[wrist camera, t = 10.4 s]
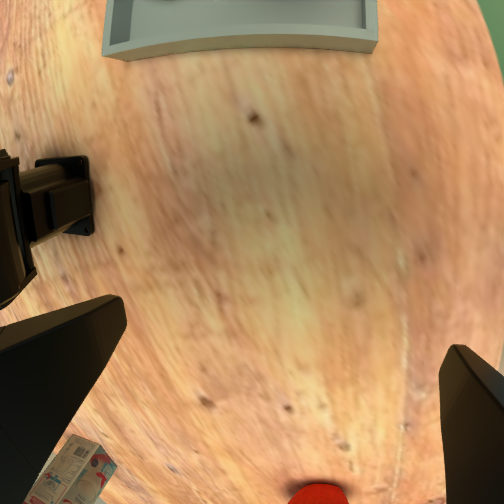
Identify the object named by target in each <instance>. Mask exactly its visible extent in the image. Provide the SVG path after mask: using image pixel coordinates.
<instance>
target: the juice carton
mask: <svg viewBox="0 0 504 504" xmlns="http://www.w3.org/2000/svg"><path fill="white" fill-rule="evenodd" d="M116 468H117V466H116V464H115V463H114V462H113V461H112V459H111V458H110V457H109V456H108V454H107V453H106V452H105V450H104V449H103V448H102V446H101V445H100V444H97V443H95V442H92V441H89V440H87V439H84V438H82V437H79V436H77V435H74V434H73V435H72V436H71V437H70V439H69V440H68V441H67V442H66V444H65V445H64V446H63V447H62V449H61V450H60V451H59V453H58V454H57V455H56V457H55V458H54V459H53V460H52V462H51V463H50V465H49V466H48V467H47V468H46V470H45V471H44V472H43V474H42V475H41V476H40V477H39V479H38V480H37V481H36V483H35V484H34V485H33V487H32V488H31V490H30V492H29V493H28V495H27V497H26V499H25V501H24V502H23V504H94V503H95V501H96V500H97V498H98V497H99V495H100V493H101V492H102V490H103V489H104V487H105V486H106V484H107V482H108V481H109V479H110V478H111V476H112V475H113V473H114V471H115V470H116Z"/></svg>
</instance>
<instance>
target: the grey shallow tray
mask: <svg viewBox="0 0 504 504" xmlns="http://www.w3.org/2000/svg"><path fill="white" fill-rule="evenodd" d="M377 42H378V16H377V0H176V1H163V0H107V5H106V13H105V22H104V32H103V43H102V57H108V58H113V59H118V60H123V61H133V60H138V59H144V58H149V57H155V56H162V55H169V54H176V53H184V52H193V51H203V50H214V49H228V48H251V47H295V48H317V49H331V50H343V51H353V52H361V53H369V54H372V52H373V50H374V48H375V46H376V44H377Z"/></svg>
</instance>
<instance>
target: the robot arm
mask: <svg viewBox="0 0 504 504" xmlns="http://www.w3.org/2000/svg"><path fill="white" fill-rule="evenodd" d="M81 160H82V164H81ZM19 164H20V163H19V157H14V158H11V157H10V155H8V153H7V152H6V150H5V149H2V150H0V310H2V309H4V308H5V307H7V306H8V305H9V304H10V303H11V302H12V301H13V300H14V299H15V298H16V297H17V296H18V295H19V294H20V292H21V291H22V290H23V289H24V288H25V287H26V286H27V285H28V284H29V283H30V281H31V280H32V279H33V278H34V277H35V276H36V275H37V271H36V267H34V263H33V258H32V254H31V248H33V247H35V246H37V245H38V244H40V243H42V242H44V241H46V240H48V239H50V238H52V237H54V236H56V235H58V234H60V233H68V234H76V235H83V236H89V235H91V234H93V232H94V226H93V218H92V209H91V199H90V188H89V175H88V161H87V158H86V156H84V155H80V156H67V157H56V158H46V159H39V160H36V162H35V168H34V169H30V170H27V171H23V172H20V173H19ZM87 228H88V229H87ZM88 230H89V231H88ZM126 326H127V318H126V313H125V308H124V302H123V300H122V298H121V297H119V296H115V295H111V294H108V295H105V296H101V297H98V298H95V299H91V300H88V301H85V302H81V303H78V304H75V305H72V306H68V307H65V308H62V309H58V310H55V311H52V312H48V313H45V314H42V315H39V316H35V317H32V318H29V319H25V320H22V321H19V322H16V323H12V324H9V325H7V326H2V327H0V504H23V502H24V501H25V499H26V497H27V495H28V493H29V492H30V490H31V488H32V486H33V484H34V483H35V481H36V479H37V477H38V476H39V474H38V473H40V472H41V470H42V468H43V466H44V465H45V463H46V461H47V460H48V458H49V456H50V455H51V453H52V451H53V450H54V448H55V446H56V445H57V443H58V441H59V440H60V438H61V436H62V435H63V433H64V431H65V430H66V428H67V427H68V425H69V423H70V422H71V420H72V418H73V417H74V415H75V414H76V412H77V410H78V409H79V407H80V406H81V404H82V403H83V401H84V399H85V398H86V396H87V395H88V393H89V392H90V390H91V389H92V387H93V386H94V384H95V382H96V381H97V379H98V378H99V376H100V375H101V373H102V372H103V370H104V368H105V367H106V365H107V363H108V361H109V359H110V357H111V356H112V354H113V352H114V350H115V348H116V346H117V344H118V342H119V340H120V339H121V337H122V335H123V333H124V331H125V329H126ZM439 392H440V420H441V433H442V442H443V452H444V463H445V478H446V503H447V504H504V376H503V375H502V374H500V373H499V372H498V371H497V370H496V369H494V368H493V367H492V366H491V365H489V364H488V363H487V362H486V361H485V360H483V359H482V358H481V357H480V356H478V355H477V354H476V353H475V352H474V351H472V350H471V349H470V348H469V347H467V346H466V345H459V344H453V345H451V346H450V347H449V349H448V351H447V354H446V356H445V358H444V361H443V363H442V365H441V367H440V370H439Z"/></svg>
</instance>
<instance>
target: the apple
mask: <svg viewBox="0 0 504 504" xmlns="http://www.w3.org/2000/svg"><path fill="white" fill-rule="evenodd" d="M288 504H349V503H348V500H347V498H346V496H345V494H344V493H343V491H342V490H341V489H340V488H338V487H337V486H333V485H329V484H319V483H317V484H311V485H307V486H305V487H303V488H302V489H301V490H299V491H298V492H297V493H296V494H295V495H294V496H293V498H292V499H291V500H290V501H289V503H288Z"/></svg>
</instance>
